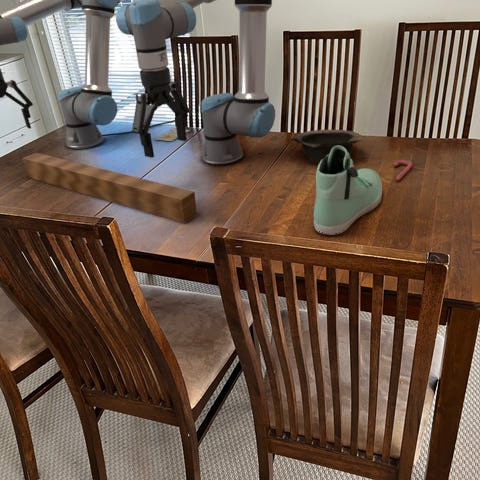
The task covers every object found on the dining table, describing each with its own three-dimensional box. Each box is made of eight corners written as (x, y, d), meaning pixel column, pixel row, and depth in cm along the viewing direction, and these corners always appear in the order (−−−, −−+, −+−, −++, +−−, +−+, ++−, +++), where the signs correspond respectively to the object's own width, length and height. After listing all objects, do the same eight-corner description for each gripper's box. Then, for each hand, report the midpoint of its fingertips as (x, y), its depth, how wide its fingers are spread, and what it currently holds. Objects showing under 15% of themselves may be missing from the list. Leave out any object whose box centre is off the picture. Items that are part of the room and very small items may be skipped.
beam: (28, 177, 176) (22, 158, 172) (42, 171, 180) (36, 152, 176) (184, 223, 138) (181, 199, 134) (197, 214, 142) (194, 191, 138)
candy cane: (380, 178, 154) (381, 174, 154) (397, 162, 164) (397, 158, 164) (399, 182, 151) (399, 178, 150) (414, 165, 161) (415, 161, 161)
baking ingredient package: (154, 138, 201) (173, 127, 213) (154, 139, 202) (173, 128, 213) (171, 140, 198) (190, 129, 209) (171, 141, 198) (190, 130, 209)
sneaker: (389, 187, 148) (396, 123, 138) (356, 242, 123) (361, 168, 112) (346, 181, 154) (350, 119, 144) (306, 232, 129) (307, 161, 118)
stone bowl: (320, 174, 160) (319, 147, 155) (281, 157, 180) (279, 132, 176) (378, 156, 168) (378, 130, 164) (334, 141, 189) (333, 118, 184)
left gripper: (-53, 78, 145) (-27, 145, 156) (30, 63, 158) (48, 125, 169) (-57, 75, 151) (-32, 140, 162) (23, 60, 163) (41, 121, 174)
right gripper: (129, 80, 111) (145, 166, 122) (196, 59, 128) (204, 135, 139) (107, 78, 114) (124, 161, 125) (175, 57, 132) (184, 132, 143)
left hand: (9, 132), depth 165 cm, fingers open, 13 cm apart
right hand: (166, 148), depth 132 cm, fingers open, 13 cm apart
